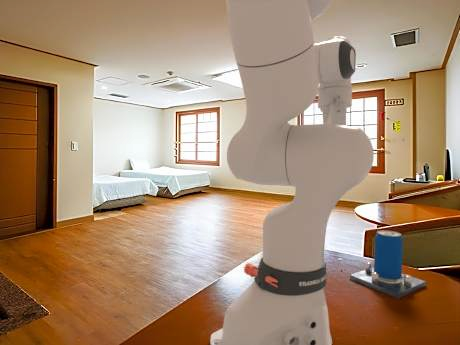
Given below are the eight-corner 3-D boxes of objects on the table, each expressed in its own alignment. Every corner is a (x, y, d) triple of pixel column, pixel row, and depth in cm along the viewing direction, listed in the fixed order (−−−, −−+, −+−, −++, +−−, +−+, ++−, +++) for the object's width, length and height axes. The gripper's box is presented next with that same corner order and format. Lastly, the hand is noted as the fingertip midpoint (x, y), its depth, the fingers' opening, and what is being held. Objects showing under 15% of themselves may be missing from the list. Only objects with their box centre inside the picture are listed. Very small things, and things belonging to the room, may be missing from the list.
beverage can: (403, 276, 79) (405, 232, 79) (398, 284, 74) (400, 237, 74) (377, 270, 83) (378, 228, 83) (370, 278, 78) (372, 233, 78)
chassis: (397, 298, 70) (398, 283, 70) (349, 279, 81) (350, 266, 81) (425, 285, 77) (426, 272, 77) (377, 269, 88) (378, 257, 88)
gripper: (353, 92, 71) (351, 150, 72) (341, 106, 91) (340, 151, 92) (325, 93, 73) (324, 150, 73) (320, 107, 93) (319, 151, 93)
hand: (333, 150), depth 83 cm, fingers open, 8 cm apart
